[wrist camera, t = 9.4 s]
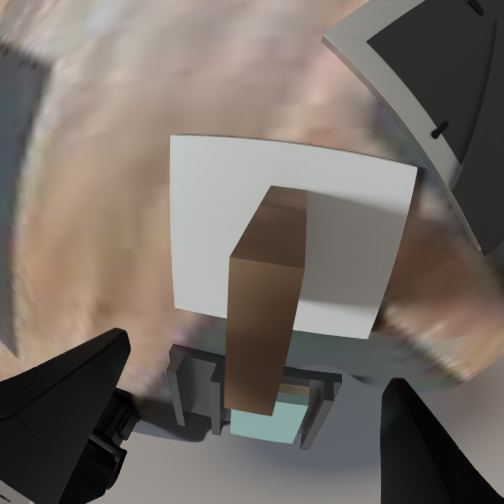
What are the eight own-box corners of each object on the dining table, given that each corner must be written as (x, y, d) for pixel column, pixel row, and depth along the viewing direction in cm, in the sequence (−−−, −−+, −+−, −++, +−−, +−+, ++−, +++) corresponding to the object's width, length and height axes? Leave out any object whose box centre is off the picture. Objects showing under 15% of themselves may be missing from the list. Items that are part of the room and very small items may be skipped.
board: (180, 300, 22) (175, 307, 21) (177, 134, 16) (170, 135, 16) (365, 330, 20) (367, 339, 19) (411, 164, 15) (417, 167, 14)
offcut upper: (232, 425, 25) (230, 433, 24) (235, 384, 22) (232, 393, 21) (293, 435, 24) (292, 443, 23) (308, 396, 21) (308, 405, 20)
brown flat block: (259, 293, 19) (224, 407, 11) (270, 185, 16) (229, 257, 8) (290, 297, 19) (272, 416, 11) (307, 190, 16) (304, 268, 8)
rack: (181, 401, 28) (172, 422, 25) (173, 344, 24) (159, 367, 21) (316, 426, 26) (314, 450, 23) (341, 373, 22) (342, 401, 19)
